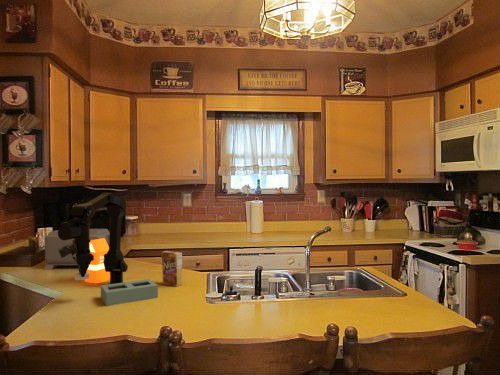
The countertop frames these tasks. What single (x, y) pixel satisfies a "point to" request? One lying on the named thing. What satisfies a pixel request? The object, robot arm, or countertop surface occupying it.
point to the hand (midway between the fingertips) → (82, 275)
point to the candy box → (172, 268)
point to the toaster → (55, 243)
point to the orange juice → (98, 261)
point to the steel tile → (78, 277)
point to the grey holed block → (129, 292)
